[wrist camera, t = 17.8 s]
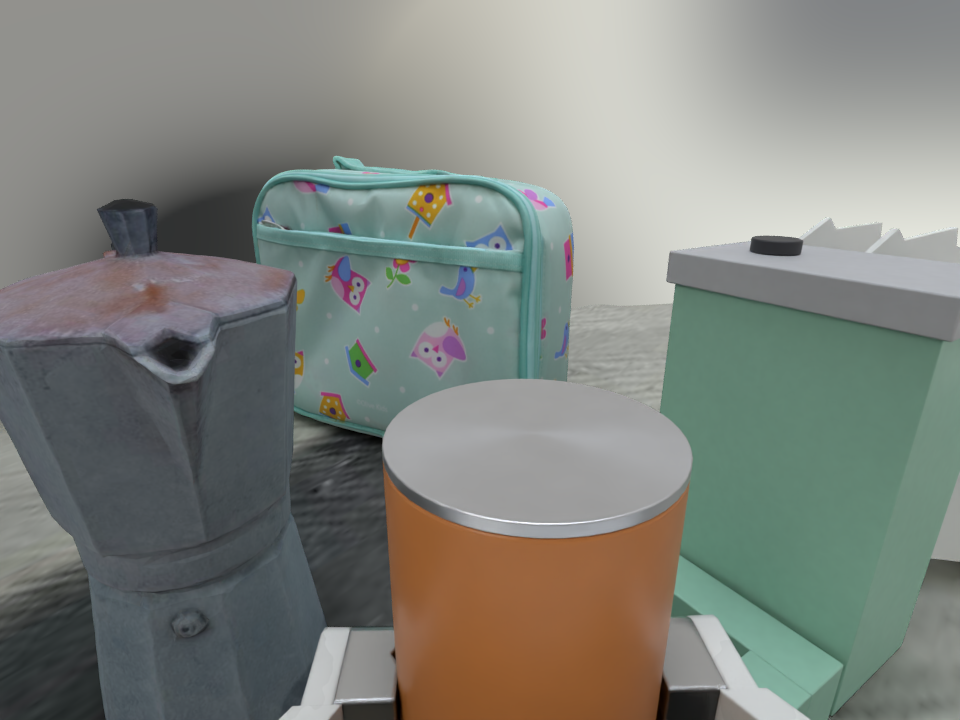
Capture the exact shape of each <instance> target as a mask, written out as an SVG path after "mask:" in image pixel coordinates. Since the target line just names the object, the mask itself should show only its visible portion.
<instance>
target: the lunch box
mask: <svg viewBox="0 0 960 720" xmlns="http://www.w3.org/2000/svg"><path fill="white" fill-rule="evenodd" d="M333 163H334V165H335V167H336V169H325V170H291V171H286V172H282V173H280V174H278V175H276V176H275V177H273V178H272V179H270V180H269V181H268V182H267V183H266V184H265V186H264V187H263V189H262V191H261V192H260V194H259V196H258V198H257V200H256V203H255V206H254V210H253V216H252V217H253V218H252V232H253V240H254V248H255V254H256V262H257V264H260V265H265V266H270V267H275V268H279V269H284V270H288V271H291V272H293V273H294V274H295V277H296V279H297V306H296V342H295V377H294V411H295V412H297V413H299V414H301V415H304V416H307V417H311V418H313V419H315V420H318V421H321V422H324V423H328V424H331V425H334V426H337V427H341V428H345V429H349V430H353V431H356V432H360V433H365V434H370V435H373V436H377V437H381V438H383V436H384V434H385V431H386V428H387V427H388V425H389V424H390V422H391V421H392V420H393V419H394V418H395V417H396V415H397V414H398V413H399V412H401V411H402V410H403V409H405V408H406V407H407V406H409V405H411V404H412V403H414V402H416V401H418V400H419V399H422V398H424V397H426V396H428V395H430V394H433V393H436V392H439V391H442V390H445V389H448V388H452V387H456V386H460V385H465V384H470V383H476V382H482V381H491V380H502V379H544V380H556V381H565V382H567V371H568V348H569V328H570V311H571V295H572V280H573V253H574V244H573V229H572V222H571V217H570V214H569V212H568V209H567V207H566V206H565V205H564V203H563V201H562V200H561V199H560V198H559V197H558V196H557V195H555V194H553V193H552V192H551V191H549V190H546V189H544V188H541V187H538V186H535V185H531V184H527V183H523V182H518V181H512V180H503V179H497V178H486V177H483V176H473V175H459V174H454V173H449V172H446V171H442V170H422V171H408V170H402V169H392V168H379V167H364V165H363V164H362V163H361V161H360V160H359V159H352V158H344V157H341V156H335V157H334V158H333Z"/></svg>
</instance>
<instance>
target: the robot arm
mask: <svg viewBox="0 0 960 720" xmlns="http://www.w3.org/2000/svg"><path fill="white" fill-rule="evenodd" d="M399 710H400V705H399V690H398V677H397V669H396V654H395V639H394V626H352V627H325V628H324V630H323V632H322V633H321V635H320V639H319V642H318V646H317V649H316V653H315V656H314V660H313V663H312V667H311V670H310V674H309V677H308V681H307V684H306V688H305V691H304V695H303V698H302V702H301V705H300V706H292V707H291V708H290V709H289V710H288V711H287V712H286V713H285V714H284V715H283V716H282V717H281V718H280V719H279V720H400V714H399ZM656 720H811V719H809V718H808V717H806V716H805V715H804V714H802V713H801V712H800V711H798V710H797V709H795V708H794V707H793V706H791V705H790V704H789V703H787V702H786V701H784V700H783V699H782V698H780V697H779V696H777V695H776V694H775V693H773V692H772V691H771V690H769V689H768V688H759V687H758V686H757V684H756V682H755V681H754V679H753V677H752V676H751V674H750V672H749V670H748V669H747V667H746V665H745V664H744V662H743V660H742V658H741V657H740V655H739V653H738V652H737V650H736V648H735V647H734V645H733V643H732V641H731V640H730V638H729V636H728V635H727V633H726V631H725V630H724V628H723V626H722V624H721V623H720V621H719V619H718V618H717V617H716V616H714V615H713V614H712V615H690V616H671V618H670V625H669V631H668V638H667V645H666V652H665V659H664V666H663V673H662V680H661V687H660V694H659V701H658V708H657V715H656Z"/></svg>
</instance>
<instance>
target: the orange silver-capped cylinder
mask: <svg viewBox="0 0 960 720" xmlns="http://www.w3.org/2000/svg"><path fill="white" fill-rule="evenodd" d="M382 458H383V473H384V488H385V503H386V518H387V533H388V548H389V564H390V579H391V594H392V609H393V624H394V639H395V654H396V669H397V677H398V690H399V705H400V710H399V714H400V720H656V715H657V708H658V701H659V694H660V687H661V680H662V673H663V666H664V659H665V652H666V645H667V638H668V631H669V625H670V618H671V611H672V604H673V597H674V590H675V583H676V576H677V569H678V562H679V555H680V548H681V541H682V534H683V527H684V520H685V513H686V506H687V499H688V492H689V485H690V478H691V471H692V463H693V456H692V450H691V447H690V445H689V442H688V440H687V438H686V437H685V435H684V434H683V433H682V431H681V430H680V429H679V428H678V427H677V426H676V425H675V424H674V423H673V422H672V421H671V420H670V419H668V418H667V417H665V416H664V415H663V414H661V413H660V412H658V411H656V410H655V409H653V408H651V407H650V406H648V405H646V404H644V403H641V402H639V401H637V400H635V399H632V398H630V397H627V396H625V395H622V394H619V393H616V392H612V391H609V390H606V389H602V388H598V387H594V386H589V385H584V384H579V383H572V382H565V381H556V380H544V379H502V380H491V381H482V382H476V383H470V384H465V385H460V386H456V387H452V388H448V389H445V390H442V391H439V392H436V393H433V394H430V395H428V396H426V397H424V398H422V399H419V400H418V401H416V402H414V403H412V404H411V405H409V406H407V407H406V408H405V409H403V410H402V411H401V412H399V413H398V414H397V415H396V417H395V418H394V419H393V420H392V421H391V422H390V424H389V425H388V427H387V428H386V431H385V434H384V436H383V440H382Z"/></svg>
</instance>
